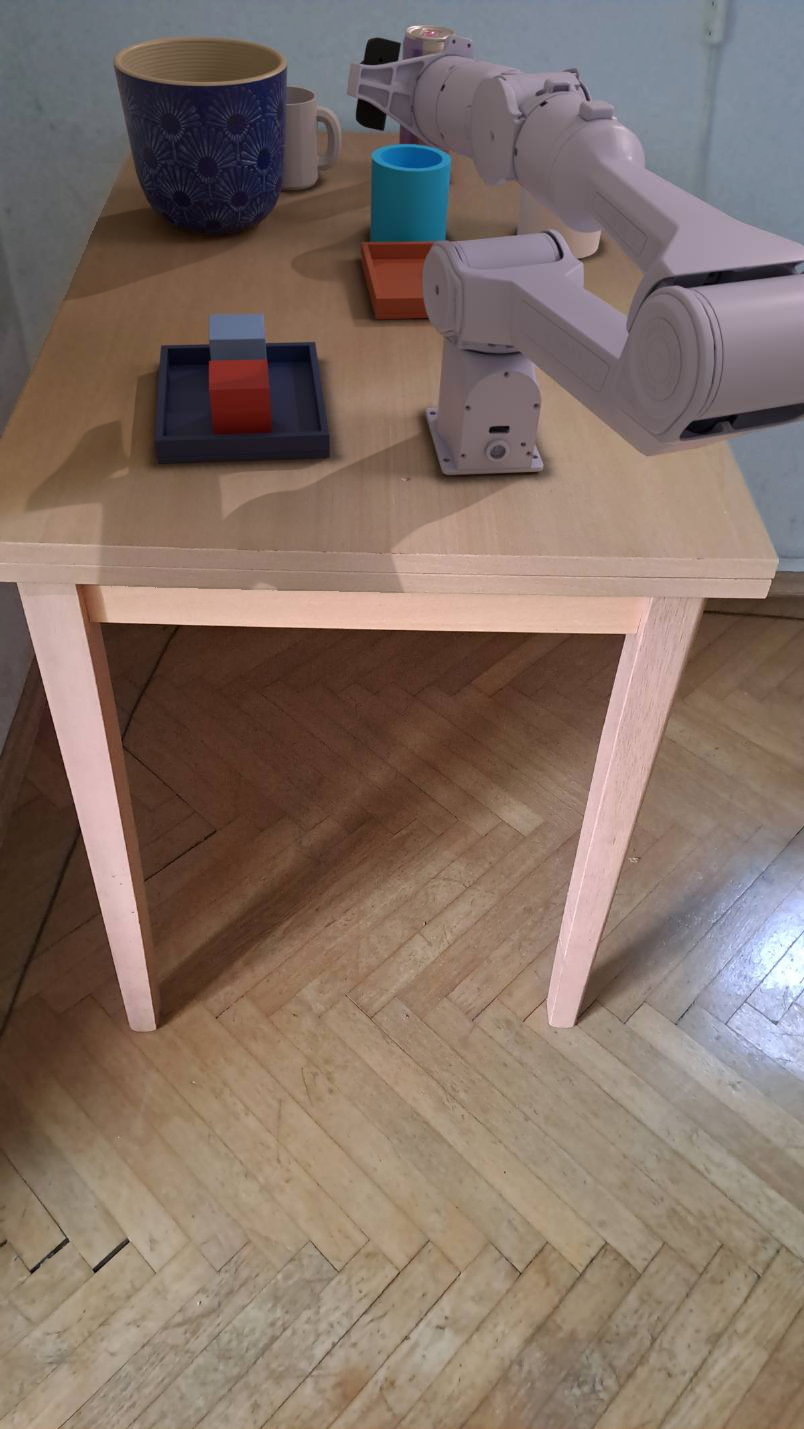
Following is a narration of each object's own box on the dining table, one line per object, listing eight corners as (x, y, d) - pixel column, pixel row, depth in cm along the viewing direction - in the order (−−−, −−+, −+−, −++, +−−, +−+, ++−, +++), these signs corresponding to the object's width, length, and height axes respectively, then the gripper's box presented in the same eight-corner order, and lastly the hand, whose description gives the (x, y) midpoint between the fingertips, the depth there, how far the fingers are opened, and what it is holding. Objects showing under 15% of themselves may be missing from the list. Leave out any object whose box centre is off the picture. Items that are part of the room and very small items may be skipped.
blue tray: (329, 457, 77) (329, 434, 76) (157, 463, 76) (154, 440, 74) (315, 363, 88) (315, 341, 86) (163, 366, 86) (160, 344, 85)
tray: (501, 316, 95) (503, 296, 94) (375, 319, 94) (376, 298, 92) (476, 260, 104) (477, 240, 103) (361, 261, 103) (361, 241, 101)
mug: (442, 258, 104) (448, 174, 98) (365, 251, 105) (367, 167, 99) (449, 215, 113) (455, 135, 107) (378, 209, 113) (380, 129, 107)
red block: (272, 440, 78) (269, 387, 74) (214, 442, 77) (208, 389, 74) (270, 411, 81) (267, 359, 77) (214, 412, 80) (208, 360, 77)
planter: (299, 195, 115) (294, 40, 104) (285, 255, 103) (278, 87, 92) (152, 188, 114) (131, 31, 103) (122, 247, 103) (95, 78, 92)
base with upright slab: (563, 221, 113) (581, 101, 104) (615, 249, 108) (639, 127, 99) (499, 235, 109) (513, 112, 101) (550, 265, 104) (569, 139, 95)
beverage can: (391, 181, 119) (396, 34, 108) (406, 166, 123) (412, 22, 112) (439, 189, 118) (449, 40, 107) (452, 173, 122) (462, 28, 111)
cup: (259, 168, 120) (254, 84, 114) (341, 171, 121) (341, 87, 114) (255, 190, 115) (250, 103, 109) (341, 193, 116) (341, 106, 109)
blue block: (268, 389, 83) (265, 338, 80) (214, 391, 83) (208, 339, 79) (266, 363, 86) (263, 313, 83) (214, 365, 86) (208, 314, 82)
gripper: (579, 65, 69) (499, 50, 79) (388, 15, 64) (328, 5, 74) (551, 176, 73) (477, 148, 83) (368, 139, 67) (313, 114, 78)
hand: (406, 88), depth 79 cm, fingers open, 7 cm apart
